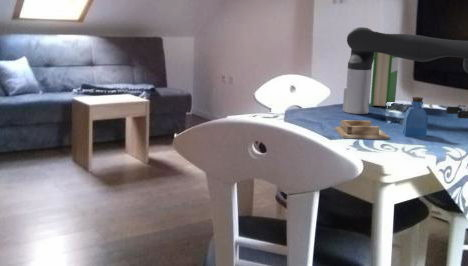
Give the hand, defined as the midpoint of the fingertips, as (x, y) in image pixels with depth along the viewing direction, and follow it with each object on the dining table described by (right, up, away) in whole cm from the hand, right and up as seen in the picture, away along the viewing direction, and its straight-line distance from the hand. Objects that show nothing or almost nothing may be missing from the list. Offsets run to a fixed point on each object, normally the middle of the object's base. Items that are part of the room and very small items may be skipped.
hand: (452, 112), depth 158 cm
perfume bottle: (-11, -7, +2) cm, 14 cm away
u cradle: (-28, -7, +2) cm, 29 cm away
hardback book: (-2, +6, +65) cm, 66 cm away
